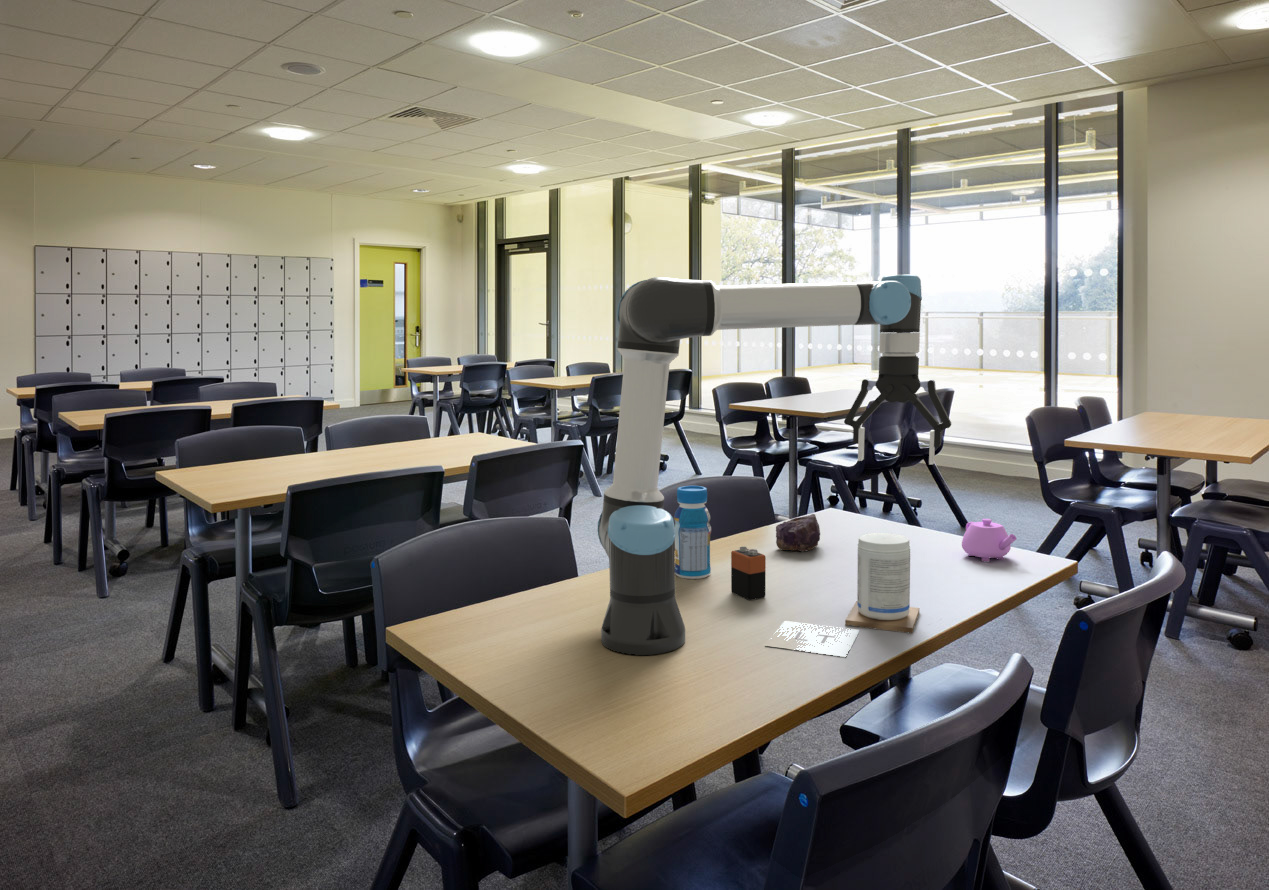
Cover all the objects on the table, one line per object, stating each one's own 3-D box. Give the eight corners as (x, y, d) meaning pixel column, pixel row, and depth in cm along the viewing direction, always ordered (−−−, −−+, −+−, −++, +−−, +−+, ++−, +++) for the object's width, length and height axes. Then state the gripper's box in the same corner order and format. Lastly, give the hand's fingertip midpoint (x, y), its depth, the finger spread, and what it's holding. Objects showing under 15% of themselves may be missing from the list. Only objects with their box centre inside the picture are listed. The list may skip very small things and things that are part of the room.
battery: (749, 601, 174) (749, 553, 172) (730, 592, 180) (730, 546, 178) (766, 597, 176) (766, 550, 174) (747, 589, 182) (747, 543, 180)
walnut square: (845, 625, 159) (845, 619, 159) (856, 605, 170) (856, 600, 169) (912, 633, 154) (912, 628, 154) (919, 612, 165) (919, 607, 165)
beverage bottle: (691, 582, 187) (690, 493, 185) (666, 574, 194) (665, 488, 191) (719, 575, 192) (718, 488, 190) (693, 567, 199) (692, 483, 196)
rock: (773, 552, 216) (794, 560, 207) (768, 519, 215) (788, 527, 206) (813, 540, 220) (834, 548, 211) (808, 508, 219) (830, 515, 209)
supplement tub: (919, 615, 160) (922, 539, 158) (886, 625, 155) (888, 547, 153) (879, 602, 168) (880, 529, 166) (845, 611, 163) (847, 536, 161)
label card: (764, 646, 149) (764, 645, 149) (784, 621, 161) (784, 620, 161) (845, 657, 143) (845, 657, 143) (859, 630, 156) (859, 629, 156)
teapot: (980, 548, 212) (982, 511, 210) (1030, 563, 198) (1032, 524, 197) (948, 553, 208) (949, 516, 206) (996, 568, 194) (998, 528, 193)
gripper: (967, 354, 165) (963, 462, 168) (838, 354, 176) (836, 456, 178) (966, 355, 159) (961, 468, 161) (831, 355, 169) (829, 461, 172)
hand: (895, 461), depth 170 cm, fingers open, 13 cm apart
